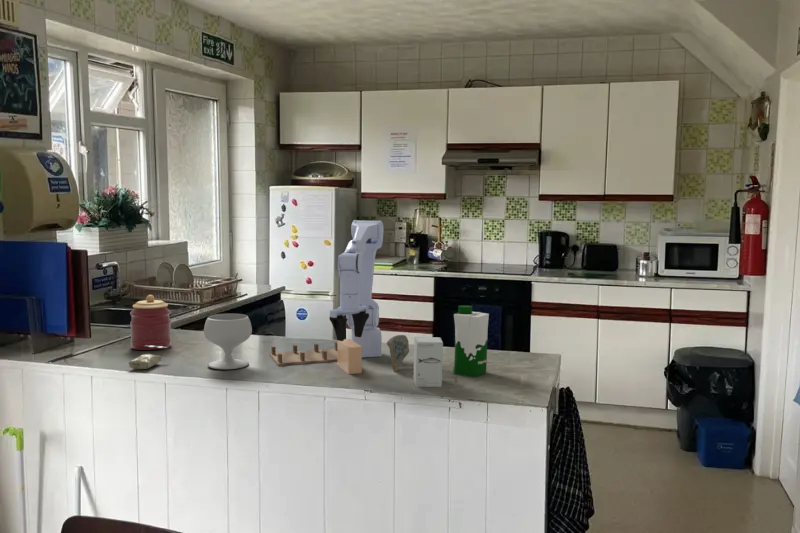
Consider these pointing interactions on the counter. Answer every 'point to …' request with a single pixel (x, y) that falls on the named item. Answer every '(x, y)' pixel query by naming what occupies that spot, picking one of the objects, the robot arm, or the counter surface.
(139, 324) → the canister
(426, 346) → the supplement box
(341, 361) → the tan rectangular block
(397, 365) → the ceramic fragment
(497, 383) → the counter surface
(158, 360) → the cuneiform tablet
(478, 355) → the milk carton
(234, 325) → the chalice
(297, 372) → the counter surface
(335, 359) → the comb rack
